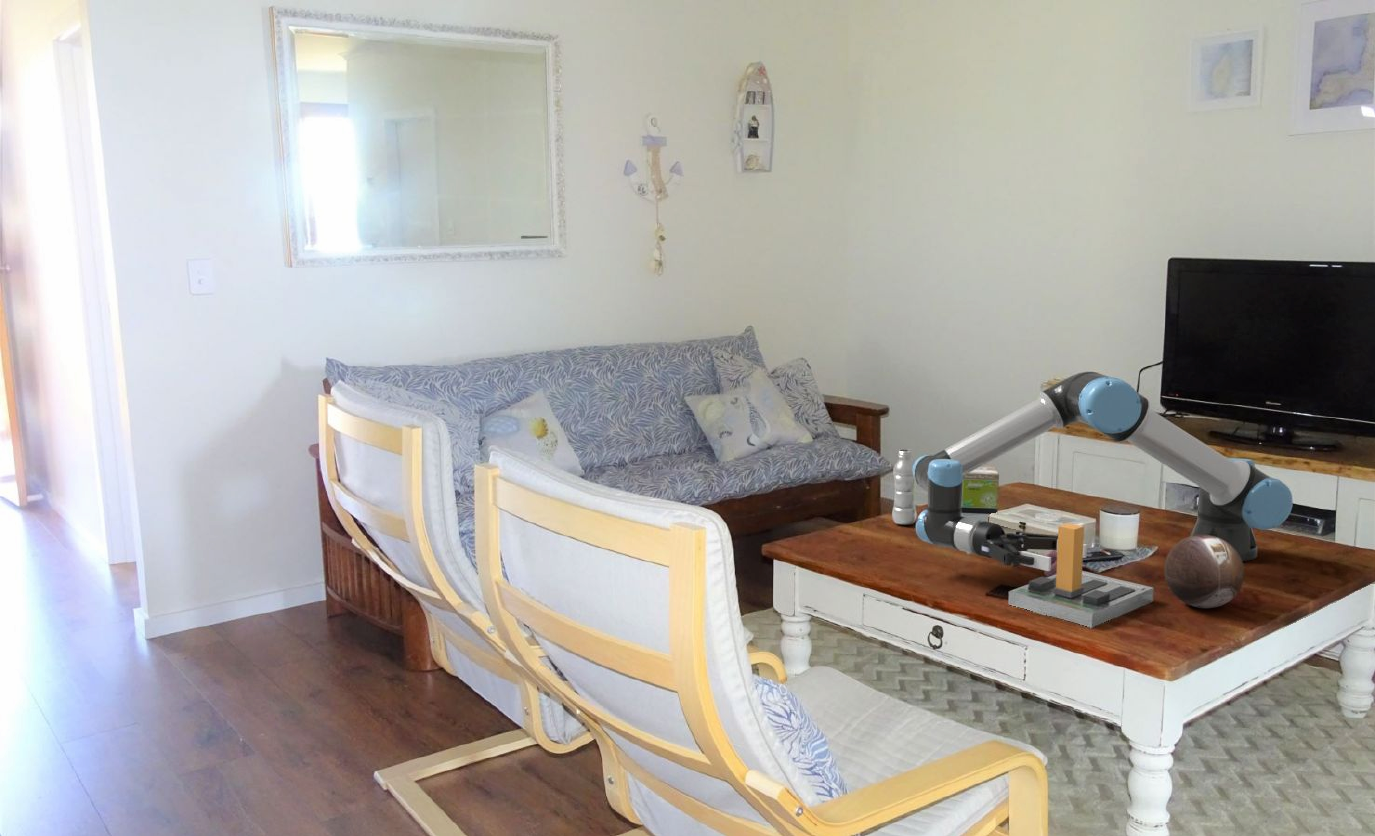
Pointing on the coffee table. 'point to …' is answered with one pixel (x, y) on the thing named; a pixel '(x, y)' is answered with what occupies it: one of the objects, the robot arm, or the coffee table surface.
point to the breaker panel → (1082, 599)
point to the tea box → (980, 493)
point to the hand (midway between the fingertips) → (1068, 557)
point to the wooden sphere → (1204, 571)
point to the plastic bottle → (904, 489)
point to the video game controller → (1052, 563)
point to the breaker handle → (1069, 560)
